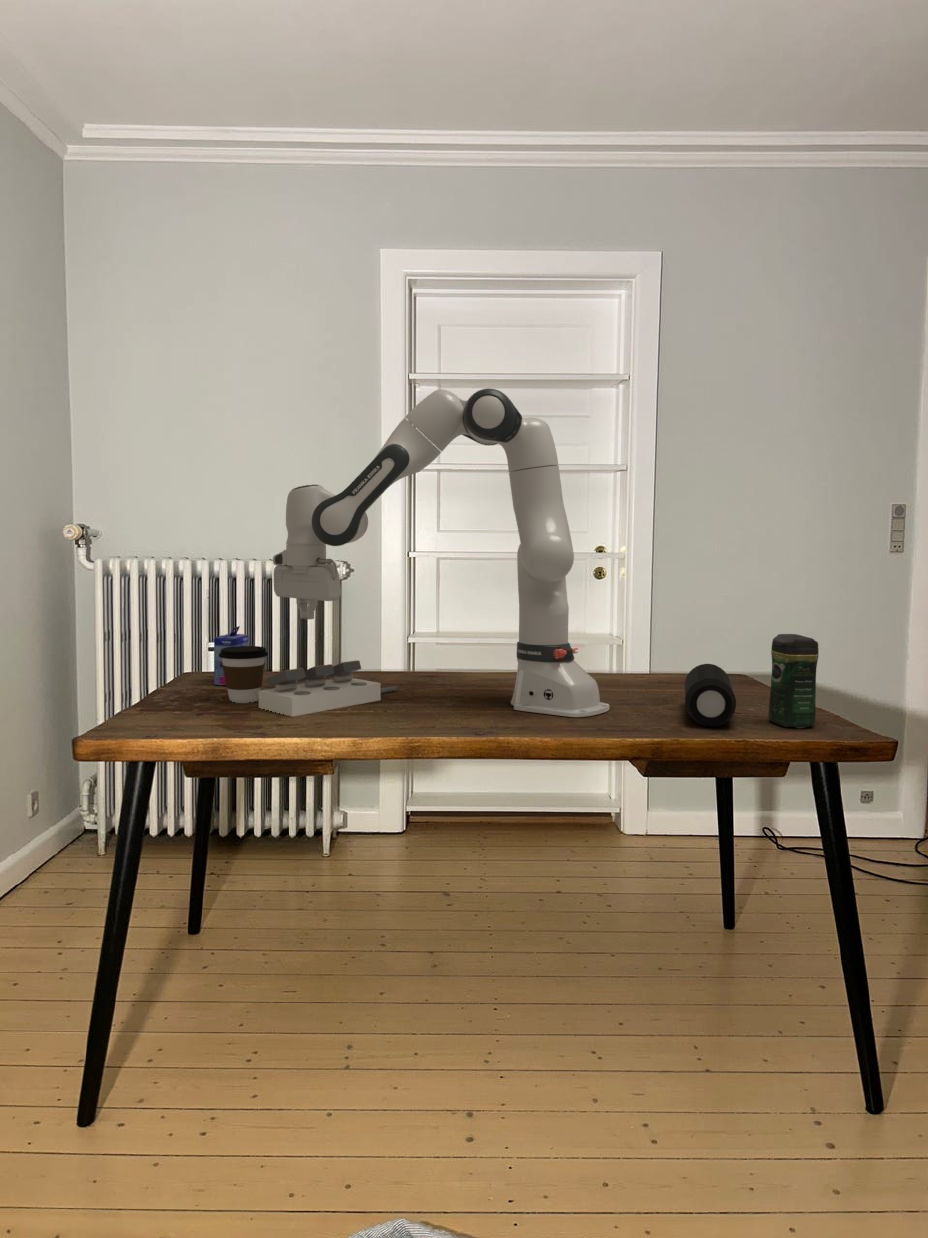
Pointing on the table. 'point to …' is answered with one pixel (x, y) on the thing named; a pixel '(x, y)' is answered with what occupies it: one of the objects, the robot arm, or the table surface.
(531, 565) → the robot arm
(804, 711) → the coffee jar
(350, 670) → the rocker
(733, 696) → the portable speaker
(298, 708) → the power strip
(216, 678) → the ink cartridge box
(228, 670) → the coffee cup
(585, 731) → the table surface
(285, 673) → the rocker
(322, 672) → the rocker
